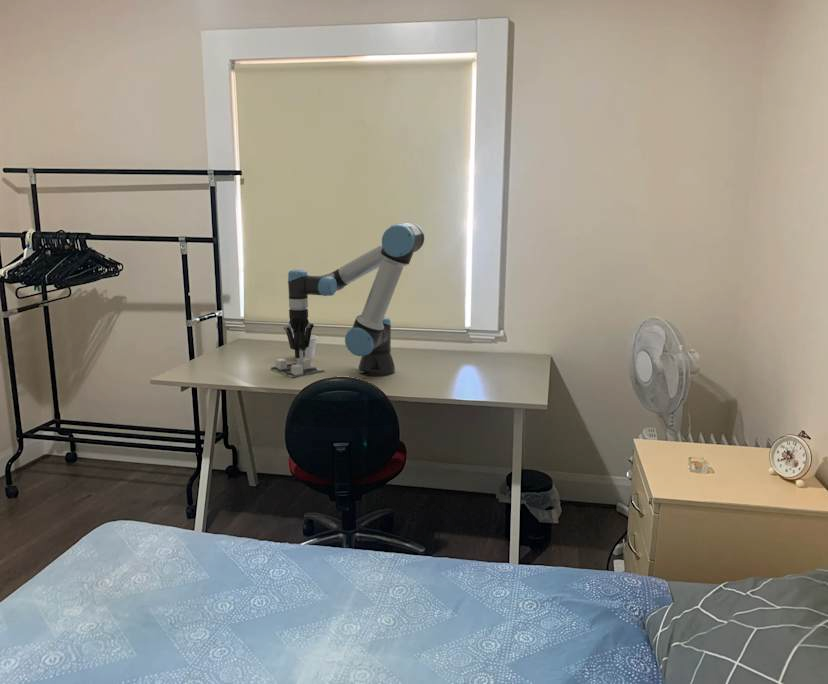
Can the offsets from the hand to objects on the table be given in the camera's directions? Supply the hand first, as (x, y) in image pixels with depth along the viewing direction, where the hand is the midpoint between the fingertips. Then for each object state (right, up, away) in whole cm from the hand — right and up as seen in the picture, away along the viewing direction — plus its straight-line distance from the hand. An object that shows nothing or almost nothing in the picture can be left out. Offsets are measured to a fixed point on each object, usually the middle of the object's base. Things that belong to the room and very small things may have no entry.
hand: (300, 365), depth 284 cm
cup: (-1, +1, +20) cm, 20 cm away
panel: (-1, -3, 0) cm, 4 cm away
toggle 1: (-8, -2, +1) cm, 8 cm away
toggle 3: (+2, -2, +2) cm, 3 cm away
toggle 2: (0, -4, -7) cm, 8 cm away
